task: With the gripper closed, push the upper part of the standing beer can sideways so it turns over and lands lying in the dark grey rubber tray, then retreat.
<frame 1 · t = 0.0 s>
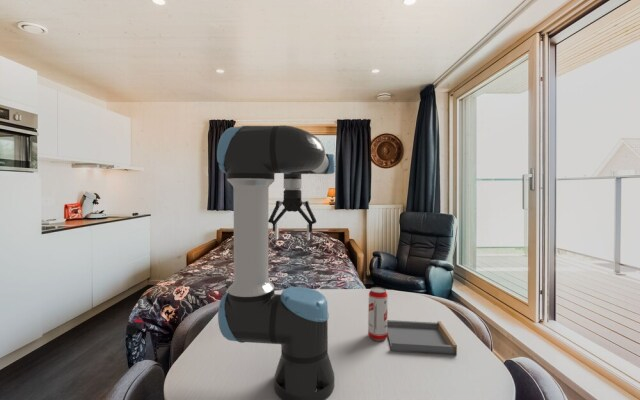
hand: (292, 239, 122), 28 cm above the table, fingers open, 13 cm apart
tray: (417, 339, 95), on the table
beer can: (377, 337, 97), on the table
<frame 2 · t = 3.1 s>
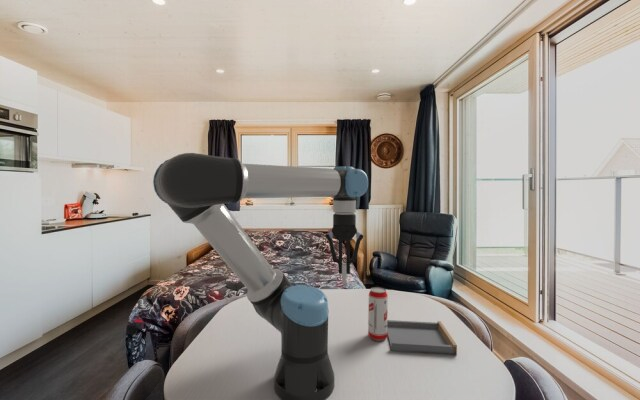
hand: (344, 282, 97), 18 cm above the table, fingers closed
nothing on the table moved.
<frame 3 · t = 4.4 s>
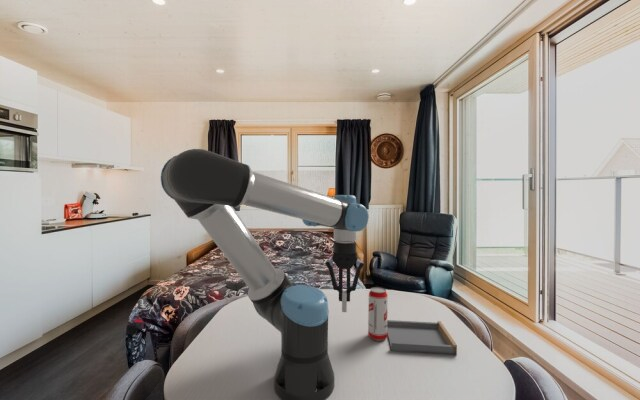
hand: (344, 310, 98), 8 cm above the table, fingers closed
nothing on the table moved.
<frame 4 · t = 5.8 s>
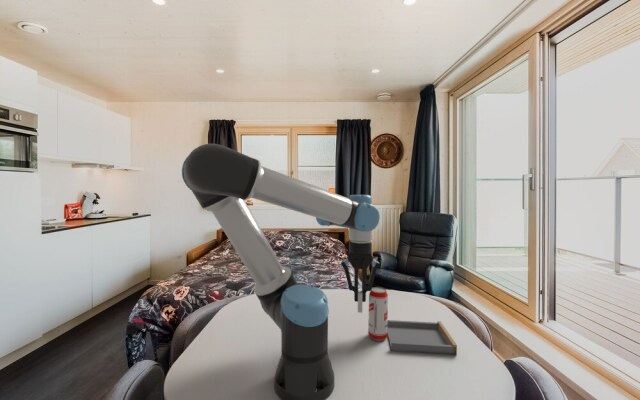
hand: (359, 310, 97), 9 cm above the table, fingers closed
beer can: (377, 337, 97), on the table, touching gripper, hand
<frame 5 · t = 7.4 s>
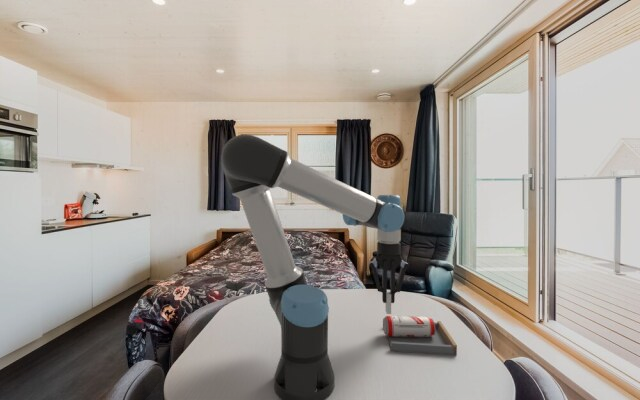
hand: (388, 312, 96), 9 cm above the table, fingers closed
beer can: (383, 326, 96), point 4 cm above the table, touching tray
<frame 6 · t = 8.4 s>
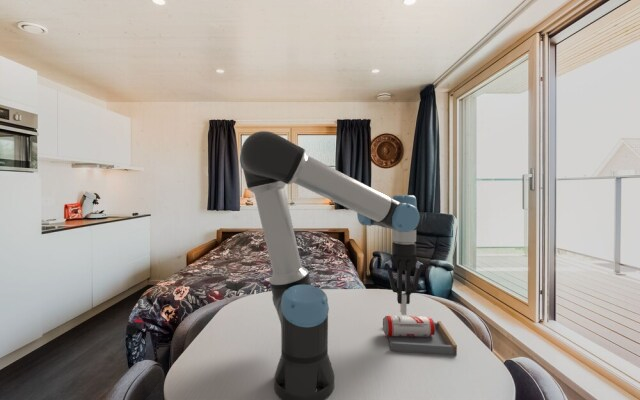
hand: (403, 313, 95), 9 cm above the table, fingers closed
nothing on the table moved.
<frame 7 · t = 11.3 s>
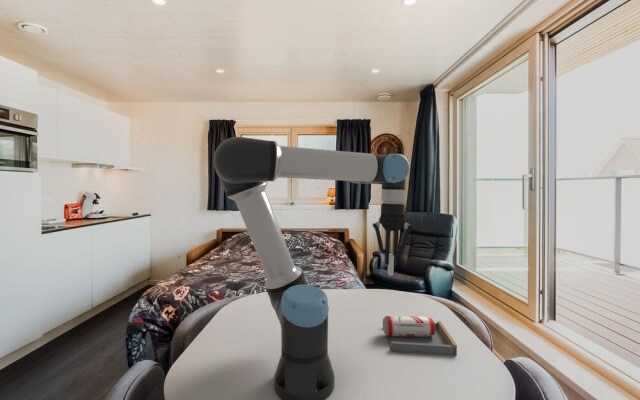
hand: (390, 274, 95), 21 cm above the table, fingers closed
nothing on the table moved.
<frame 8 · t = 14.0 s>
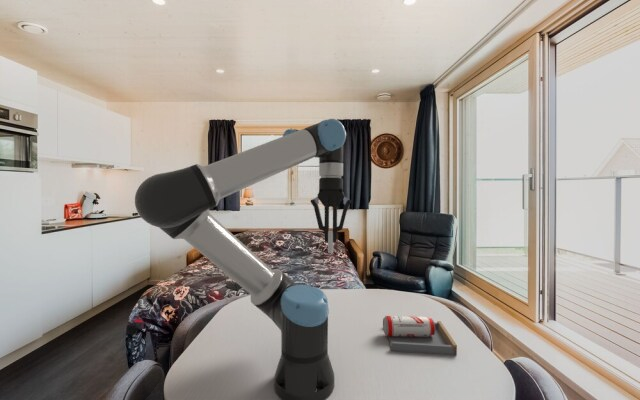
hand: (330, 252, 91), 29 cm above the table, fingers closed
nothing on the table moved.
at the end: beer can tilted 90°; beer can inside the target area (9.5 cm from its centre), point 3.7 cm above the table; the gripper is holding nothing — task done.
